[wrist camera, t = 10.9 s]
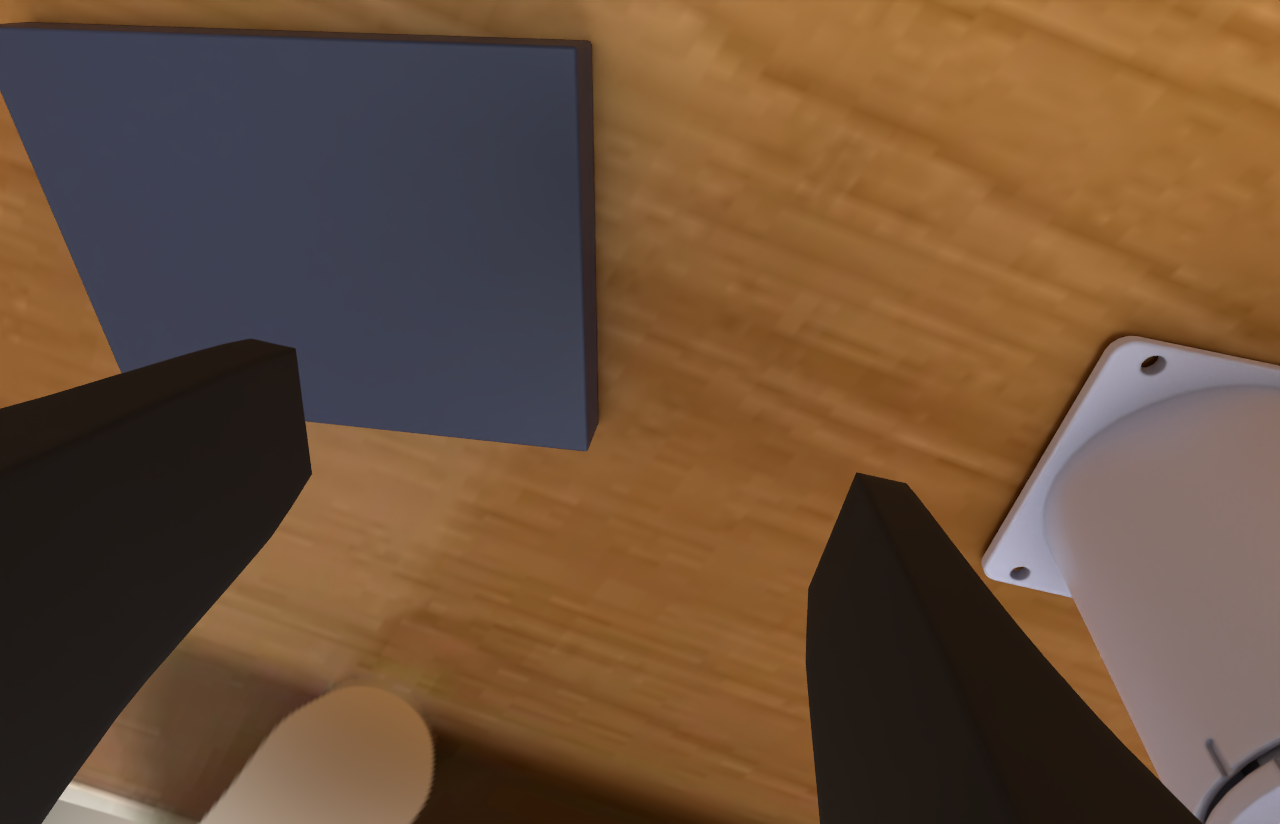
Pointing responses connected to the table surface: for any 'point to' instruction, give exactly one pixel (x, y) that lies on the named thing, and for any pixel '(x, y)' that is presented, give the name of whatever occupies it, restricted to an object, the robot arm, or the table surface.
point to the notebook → (332, 211)
